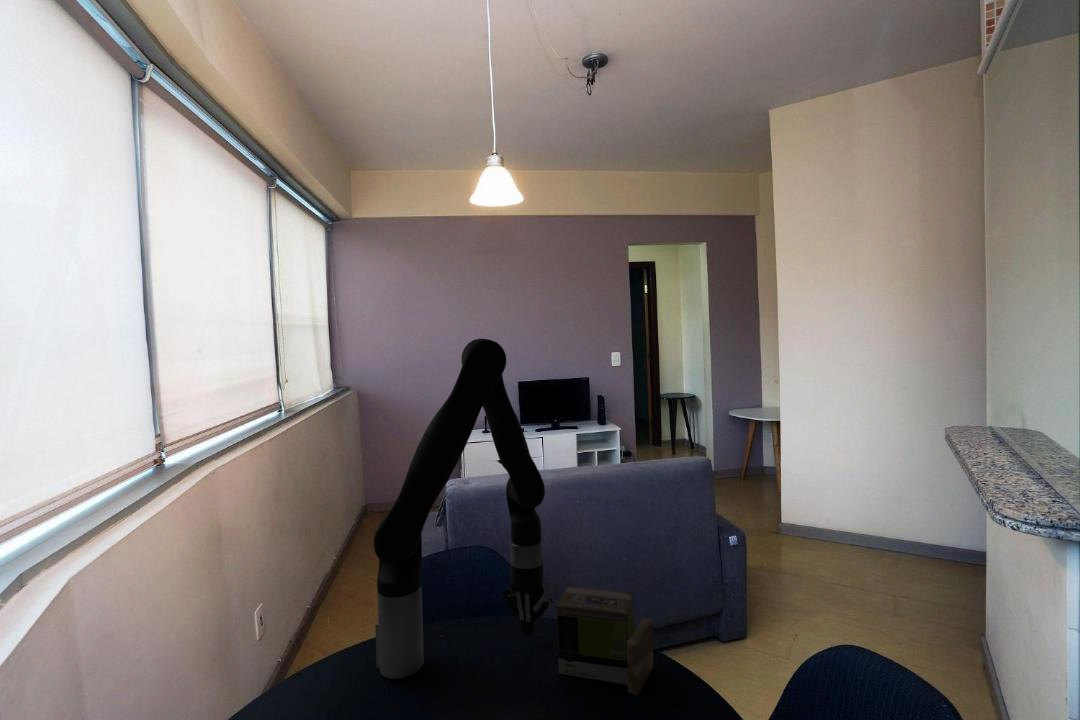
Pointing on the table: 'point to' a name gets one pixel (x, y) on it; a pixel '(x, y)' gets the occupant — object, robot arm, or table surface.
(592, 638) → the tea box
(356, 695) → the table surface
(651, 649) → the birch board
